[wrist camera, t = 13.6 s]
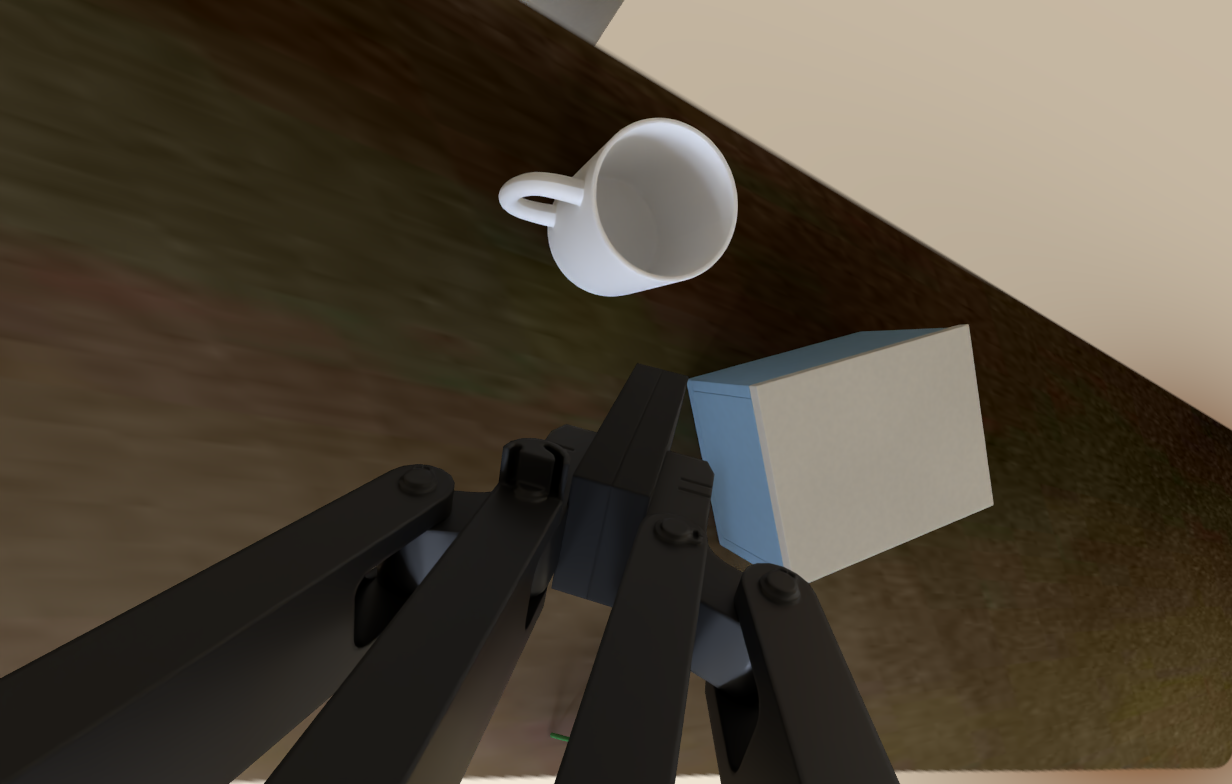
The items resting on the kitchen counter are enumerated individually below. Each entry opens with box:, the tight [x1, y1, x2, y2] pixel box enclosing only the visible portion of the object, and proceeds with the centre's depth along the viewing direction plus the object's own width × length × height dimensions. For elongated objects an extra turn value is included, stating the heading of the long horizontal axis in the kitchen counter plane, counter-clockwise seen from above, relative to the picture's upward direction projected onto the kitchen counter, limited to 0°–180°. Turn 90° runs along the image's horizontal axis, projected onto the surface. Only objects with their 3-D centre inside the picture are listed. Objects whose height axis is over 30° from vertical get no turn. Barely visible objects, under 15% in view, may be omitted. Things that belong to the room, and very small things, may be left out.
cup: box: [499, 118, 738, 296], centre depth 36 cm, size 8×12×10 cm
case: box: [687, 328, 946, 567], centre depth 43 cm, size 16×13×8 cm
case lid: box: [749, 324, 993, 583], centre depth 39 cm, size 16×13×1 cm
